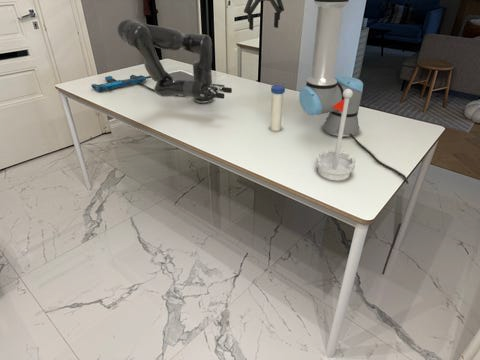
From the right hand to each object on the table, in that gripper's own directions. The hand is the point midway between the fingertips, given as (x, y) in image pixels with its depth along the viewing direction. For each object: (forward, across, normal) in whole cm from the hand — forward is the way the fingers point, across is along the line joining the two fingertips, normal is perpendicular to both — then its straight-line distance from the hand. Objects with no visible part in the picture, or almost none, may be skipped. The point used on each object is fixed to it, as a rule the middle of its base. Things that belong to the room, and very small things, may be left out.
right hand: (263, 28), depth 163 cm
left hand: (+22, +28, +19) cm, 40 cm away
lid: (+17, +12, +35) cm, 41 cm away
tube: (+36, +12, +35) cm, 51 cm away
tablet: (+36, +27, -57) cm, 72 cm away
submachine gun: (+36, +64, -63) cm, 96 cm away
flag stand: (+36, +12, +76) cm, 85 cm away
